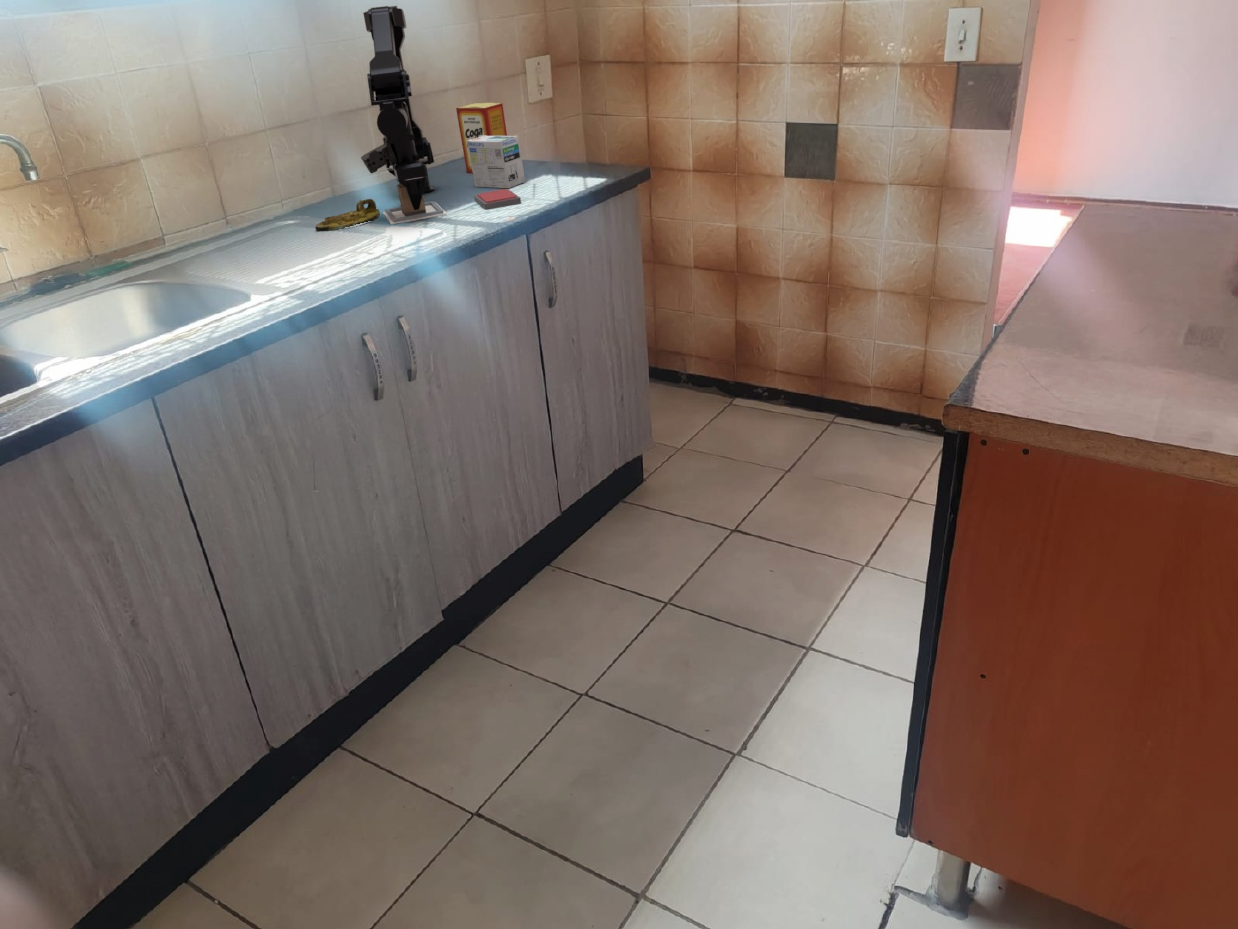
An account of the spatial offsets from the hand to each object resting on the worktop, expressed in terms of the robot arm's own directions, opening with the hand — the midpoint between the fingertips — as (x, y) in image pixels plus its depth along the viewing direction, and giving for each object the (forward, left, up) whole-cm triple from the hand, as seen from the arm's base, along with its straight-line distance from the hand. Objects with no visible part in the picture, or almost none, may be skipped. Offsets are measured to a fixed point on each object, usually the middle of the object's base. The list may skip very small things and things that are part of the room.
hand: (412, 205), depth 201 cm
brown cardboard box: (0, 0, -2) cm, 2 cm away
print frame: (0, 0, -2) cm, 2 cm away
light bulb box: (-14, +23, -2) cm, 27 cm away
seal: (-3, -14, -2) cm, 14 cm away
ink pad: (+3, +18, -2) cm, 18 cm away
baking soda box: (-32, +25, -2) cm, 41 cm away
